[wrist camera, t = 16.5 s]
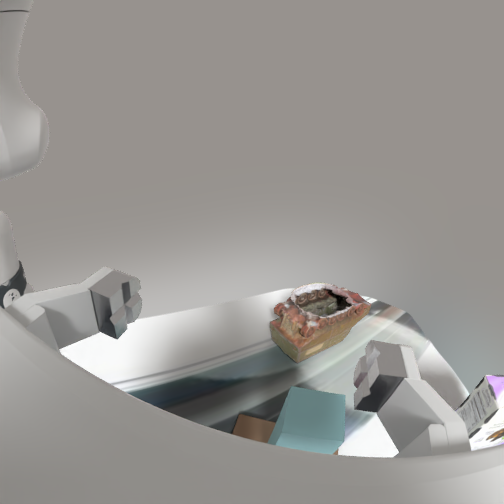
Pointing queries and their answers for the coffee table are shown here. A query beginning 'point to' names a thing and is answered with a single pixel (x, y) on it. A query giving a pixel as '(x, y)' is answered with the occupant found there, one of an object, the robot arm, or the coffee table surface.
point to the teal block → (310, 421)
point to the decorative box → (316, 319)
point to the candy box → (485, 413)
